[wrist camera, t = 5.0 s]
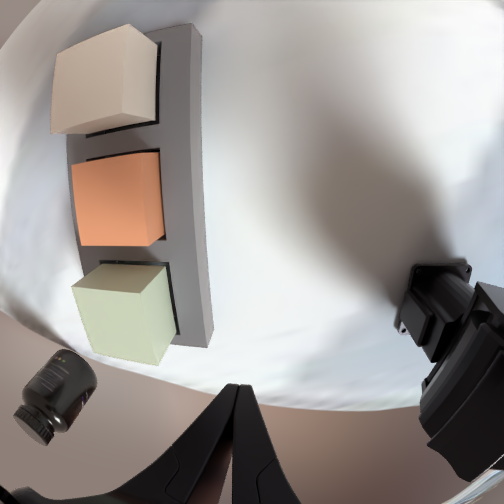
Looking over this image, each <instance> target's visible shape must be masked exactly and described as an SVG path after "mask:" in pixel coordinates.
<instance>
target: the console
mask: <svg viewBox="0 0 504 504" xmlns="http://www.w3.org/2000/svg"><path fill="white" fill-rule="evenodd" d="M143 35H145V36H146V37H147V38H149V39H150V40H151V41H153V42H154V43H155V44H156V45H158V46H157V56H159V55H161V66H160V101H159V123H160V124H156V125H150V126H144V127H138V128H132V129H127V130H122V131H117V132H112V133H108V134H105V130H102V131H98V132H94V133H90V134H67V164H68V178H69V190H70V199H71V207H72V215H73V222H74V228H75V234H76V240H77V245H78V250H79V255H80V260H81V264H82V269H83V273H84V277H85V276H86V275H87V274H89V273H90V272H91V271H93V270H94V269H96V268H97V267H98V266H100V265H101V264H118V262H117V260H120V261H149V262H169V265H170V272H171V280H172V287H173V293H174V300H175V306H176V312H177V317H174V322H175V327H176V334H175V335H174V337H173V339H172V341H171V343H170V344H174V345H183V346H192V347H202V348H207V347H208V344H209V342H210V339H211V336H212V333H213V331H214V326H213V316H212V306H211V295H210V284H209V272H208V260H207V246H206V231H205V214H204V195H203V172H202V138H201V55H202V36H201V35H200V33H199V32H198V30H197V29H196V28H195V26H194V25H193V24H192V23H190V24H184V25H179V26H174V27H169V28H165V29H161V30H157V31H153V32H149V33H145V34H143ZM159 149H160V161H161V180H162V195H163V208H164V220H165V230H166V234H164V235H163V236H161V237H160V238H159V239H157V240H156V241H155V242H153V243H152V244H151V245H150V246H81V241H80V236H79V230H78V223H77V217H76V209H75V201H74V192H73V181H72V168H71V165H74V164H79V163H84V162H89V161H94V160H99V159H105V157H110V156H116V155H123V154H129V153H136V152H143V151H151V150H159Z"/></svg>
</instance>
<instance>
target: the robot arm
mask: <svg viewBox="0 0 504 504" xmlns="http://www.w3.org/2000/svg"><path fill="white" fill-rule="evenodd" d="M467 268H468V269H467ZM418 269H420V270H419V271H418V272H417V273H416V271H417V270H418ZM466 270H467V271H466ZM471 272H472V267H471V266H470V265H469V264H415V265H414V266H413V267H412V271H411V276H410V280H409V285H408V289H407V291H406V293H405V297H404V301H403V305H402V309H401V313H400V321H399V325H398V329H397V330H398V332H399V334H400V335H411V337H412V338H413V340H414V342H415V343H416V345H417V346H418V347H422V348H423V350H424V352H425V353H426V355H427V357H428V358H429V360H430V362H431V363H435V362H437V363H436V365H435V366H434V368H433V369H432V371H431V372H430V374H429V375H428V377H427V378H425V379H424V381H423V382H422V396H421V399H420V410H421V414H420V415H419V420H420V423H421V425H422V427H423V429H424V431H425V432H426V433H427V435H428V436H429V437H430V438H431V439H430V441H428V443H427V446H428V447H430V448H431V449H433V450H435V451H437V452H439V453H440V454H441V455H442V456H443V457H444V458H445V459H446V460H447V461H448V462H449V463H450V465H451V466H452V467H453V469H454V471H455V472H456V474H457V475H458V477H459V478H462V479H463V480H465V481H468V482H472V481H474V480H475V479H477V478H478V477H479V476H480V475H482V474H483V473H484V472H485V471H487V470H488V469H491V470H503V471H504V288H501V287H497V286H494V285H490V284H486V283H482V282H479V281H477V283H476V285H475V288H473V287H472V286H470V285H469V284H468V283H469V280H470V276H471ZM403 328H404V330H402V329H403ZM231 457H233V459H232V504H301V502H300V501H299V499H298V498H297V496H296V495H295V493H294V491H293V490H292V488H291V486H290V484H289V482H288V481H287V479H286V477H285V474H284V472H283V470H282V468H281V465H280V463H279V460H278V458H277V455H276V453H275V450H274V447H273V444H272V442H271V439H270V436H269V434H268V431H267V428H266V425H265V423H264V420H263V417H262V414H261V411H260V408H259V406H258V403H257V400H256V397H255V394H254V391H253V388H252V386H251V385H245V384H241V385H240V386H239V385H238V384H231V383H228V384H227V385H226V386H225V387H224V388H223V389H222V390H221V391H220V393H219V394H218V395H217V396H216V397H215V398H214V399H213V401H212V402H211V403H210V404H209V405H208V406H207V407H206V408H205V410H204V411H203V412H202V413H201V414H200V415H199V416H198V417H197V418H196V420H195V421H194V422H193V423H192V424H191V425H190V426H189V427H188V428H187V429H186V430H185V431H184V432H183V434H182V435H181V436H180V437H179V438H178V439H177V440H176V441H175V442H174V443H173V444H172V446H170V447H169V448H168V449H167V450H166V451H165V452H164V453H163V454H162V455H161V456H160V457H159V458H158V459H157V460H155V461H154V462H153V463H152V464H151V465H149V466H148V467H147V468H146V469H144V470H143V471H141V472H140V473H139V474H137V475H136V476H135V477H133V478H132V479H130V480H129V481H127V482H126V483H125V484H123V485H122V486H120V487H119V488H117V489H115V490H113V491H111V492H108V493H105V494H100V495H95V496H89V497H82V498H73V499H65V500H53V499H48V498H45V497H43V496H41V495H40V494H39V493H37V492H36V491H34V490H33V489H31V488H30V487H23V488H18V489H15V490H13V491H12V492H11V493H10V492H9V491H8V490H6V489H5V488H4V487H3V486H2V485H0V504H218V503H219V499H220V496H221V493H222V489H223V485H224V482H225V479H226V475H227V471H228V468H229V464H230V461H231Z"/></svg>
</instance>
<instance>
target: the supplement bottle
mask: <svg viewBox="0 0 504 504" xmlns="http://www.w3.org/2000/svg"><path fill="white" fill-rule="evenodd" d="M96 387H97V378H96V375H95V373H94V371H93V370H92V368H91V367H90V366H89V364H88V363H87V362H86V361H85V360H84V359H83V358H82V357H80V356H79V355H78V354H76V353H74V352H73V351H70V350H66V349H62V350H59V351H57V352H56V353H55V354H54V355H53V356H52V357H51V358H50V359H49V360H48V362H47V363H46V364H45V365H44V366H43V367H42V368H41V369H40V370H39V371H38V372H37V374H36V375H35V376H34V377H33V378H32V379H31V380H30V381H29V382H28V384H27V385H26V386H25V387H24V389H23V391H22V399H23V402H24V405H20V406H19V408H18V410H17V411H16V413H15V414H14V415H13V416H14V419H15V421H16V422H17V423H18V425H19V426H20V427H21V428H22V429H23V430H24V431H25V432H26V433H27V434H28V435H29V436H30V437H31V438H33V439H34V440H35V441H37V442H38V443H40V444H42V445H44V446H47V445H48V444H49V442H50V441H51V439H52V438H53V437H54V432H57V433H64V432H66V431H68V429H69V428H70V427H71V425H72V424H73V422H74V421H75V419H76V418H77V416H78V415H79V413H80V411H81V410H82V408H83V407H84V405H85V404H86V402H87V401H88V400H89V398H90V397H91V395H92V394H93V392H94V390H95V389H96Z"/></svg>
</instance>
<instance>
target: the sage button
mask: <svg viewBox="0 0 504 504" xmlns="http://www.w3.org/2000/svg"><path fill="white" fill-rule="evenodd" d="M71 287H72V291H73V294H74V298H75V301H76V304H77V307H78V311H79V314H80V317H81V320H82V323H83V326H84V329H85V331H86V334H87V337H88V340H89V342H90V345H91V347H92V350H93V352H94V353H97V354H101V355H105V356H109V357H114V358H118V359H123V360H128V361H133V362H138V363H143V364H149V365H155V366H158V365H159V363H160V361H161V359H162V358H163V356H164V354H165V352H166V350H167V348H168V346H169V345H170V343H171V341H172V339H173V337H174V335H175V334H176V327H175V322H174V316H173V311H172V305H171V299H170V292H169V286H168V279H167V272H166V266H148V265H124V264H101V265H100V266H98V267H97V268H96V269H94V270H93V271H91V272H90V273H89V274H87V275H86V276H85V277H83V278H82V279H81V280H79V281H78V282H77V283H75V284H74V285H73V286H71Z"/></svg>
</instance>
